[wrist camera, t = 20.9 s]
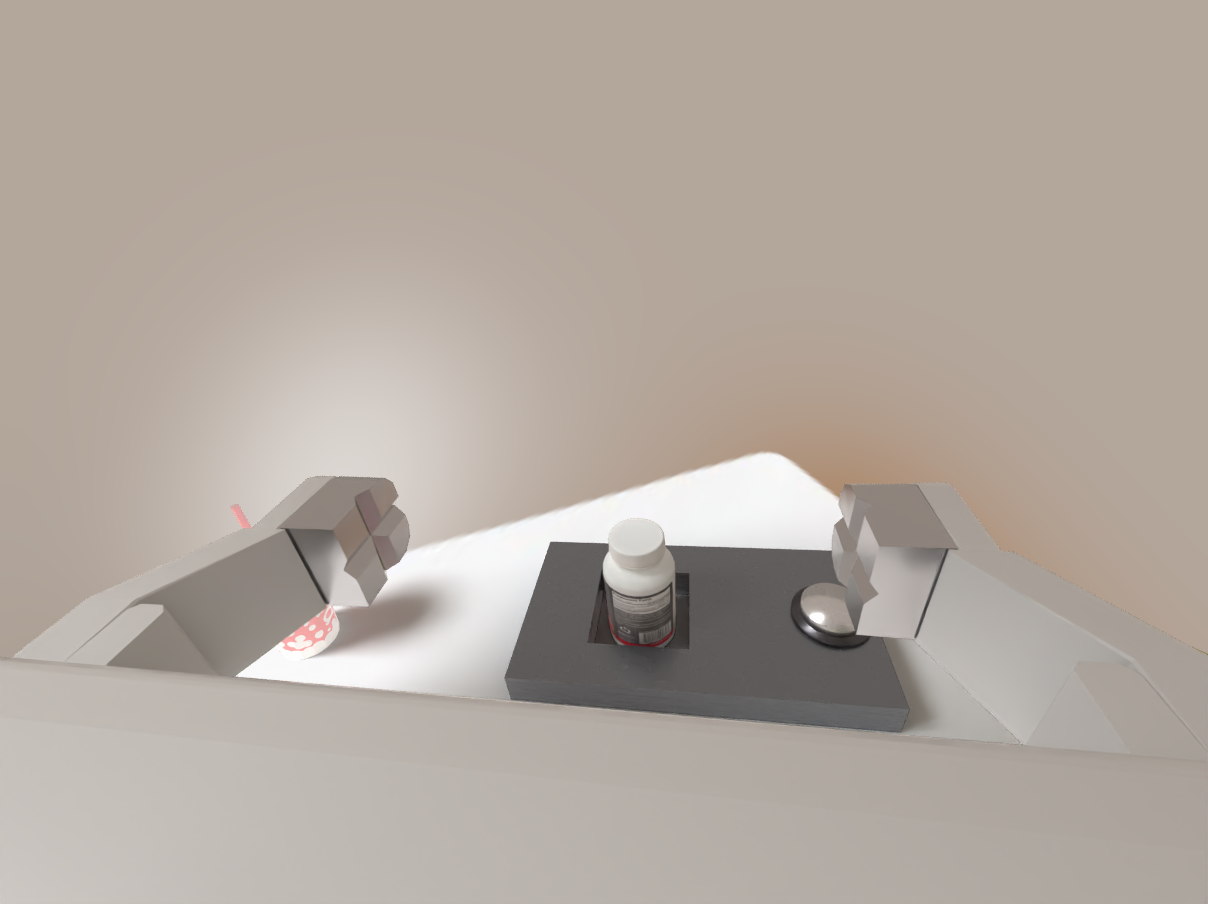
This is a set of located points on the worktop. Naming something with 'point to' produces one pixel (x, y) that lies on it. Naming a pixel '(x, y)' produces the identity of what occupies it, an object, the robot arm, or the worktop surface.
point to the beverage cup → (312, 633)
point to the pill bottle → (640, 584)
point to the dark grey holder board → (712, 643)
